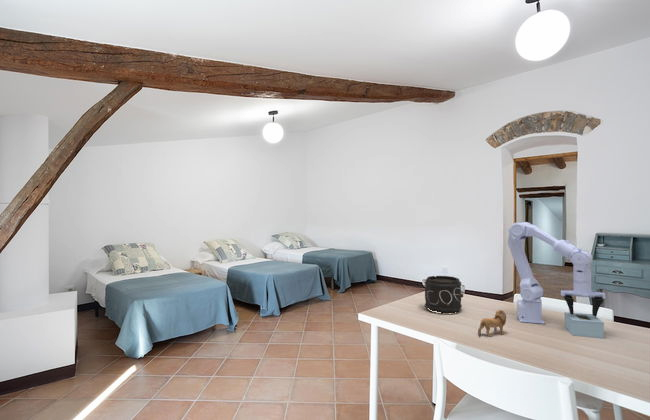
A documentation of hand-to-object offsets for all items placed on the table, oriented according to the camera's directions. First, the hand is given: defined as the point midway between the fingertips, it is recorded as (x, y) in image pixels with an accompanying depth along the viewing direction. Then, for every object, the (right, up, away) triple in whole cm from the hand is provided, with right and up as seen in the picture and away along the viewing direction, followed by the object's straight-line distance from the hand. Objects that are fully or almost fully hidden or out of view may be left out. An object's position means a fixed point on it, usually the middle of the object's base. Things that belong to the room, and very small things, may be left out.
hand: (583, 314), depth 138 cm
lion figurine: (-37, -8, 0) cm, 37 cm away
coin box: (0, -7, 0) cm, 7 cm away
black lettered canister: (-44, -8, +34) cm, 56 cm away
